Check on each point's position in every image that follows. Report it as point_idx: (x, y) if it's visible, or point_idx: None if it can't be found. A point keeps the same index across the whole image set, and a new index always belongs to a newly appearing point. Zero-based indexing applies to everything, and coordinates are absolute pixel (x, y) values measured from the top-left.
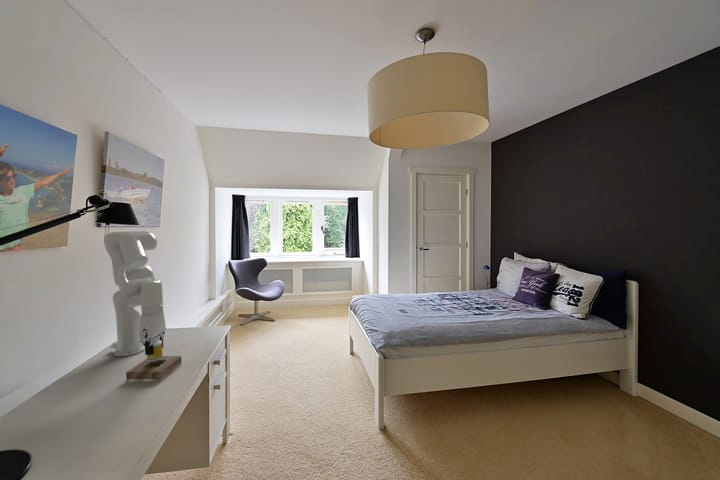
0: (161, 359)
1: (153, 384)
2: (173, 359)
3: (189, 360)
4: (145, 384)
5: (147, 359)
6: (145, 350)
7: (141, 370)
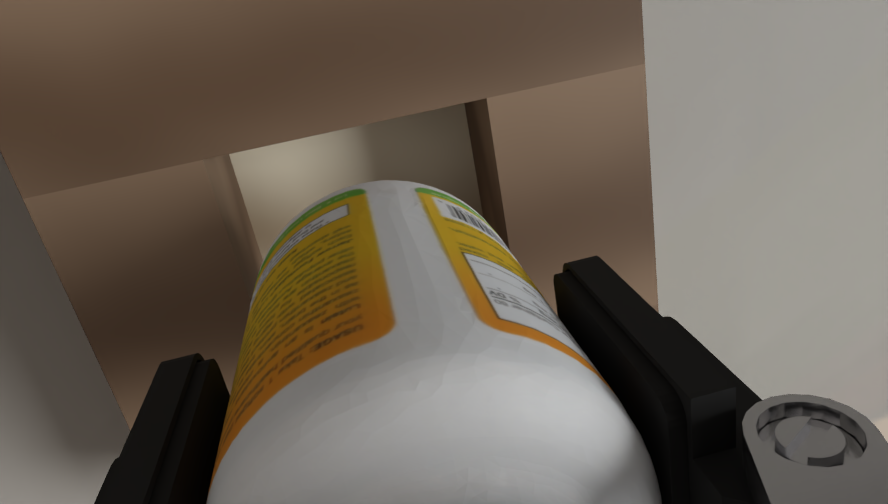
0: (531, 231)
1: (118, 428)
2: None
3: (718, 349)
4: (80, 342)
5: (266, 256)
6: (140, 437)
7: (108, 250)
